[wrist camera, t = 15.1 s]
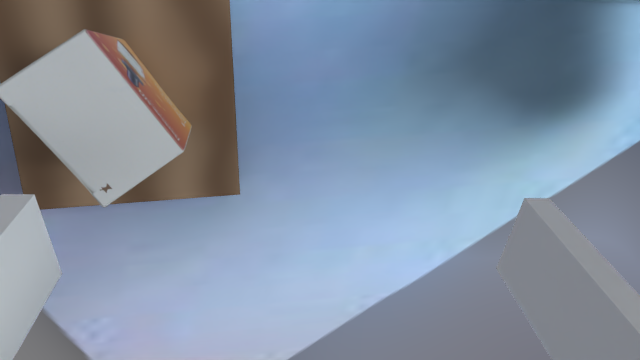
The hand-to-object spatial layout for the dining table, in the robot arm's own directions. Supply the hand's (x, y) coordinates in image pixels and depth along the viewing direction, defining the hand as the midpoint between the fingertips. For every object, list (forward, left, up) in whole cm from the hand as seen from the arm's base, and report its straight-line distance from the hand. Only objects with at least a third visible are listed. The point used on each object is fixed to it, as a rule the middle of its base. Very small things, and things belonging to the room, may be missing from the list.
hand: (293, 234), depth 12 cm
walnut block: (+8, -1, -29) cm, 30 cm away
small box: (+8, -1, -24) cm, 26 cm away
